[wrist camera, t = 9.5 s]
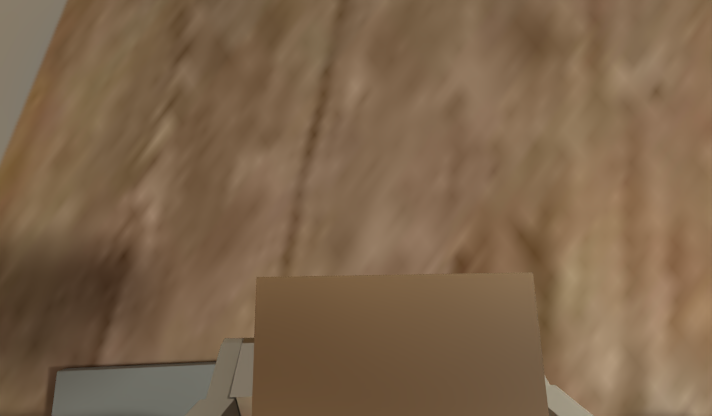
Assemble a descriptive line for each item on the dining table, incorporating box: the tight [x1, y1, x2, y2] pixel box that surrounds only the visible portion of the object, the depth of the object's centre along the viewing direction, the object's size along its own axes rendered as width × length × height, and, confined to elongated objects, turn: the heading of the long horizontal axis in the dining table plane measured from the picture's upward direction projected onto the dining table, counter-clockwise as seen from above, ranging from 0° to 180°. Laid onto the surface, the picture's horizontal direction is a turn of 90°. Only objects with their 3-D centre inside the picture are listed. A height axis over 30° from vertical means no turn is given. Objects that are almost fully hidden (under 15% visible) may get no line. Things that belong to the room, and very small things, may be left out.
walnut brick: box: [252, 273, 549, 416], centre depth 10 cm, size 5×5×9 cm
